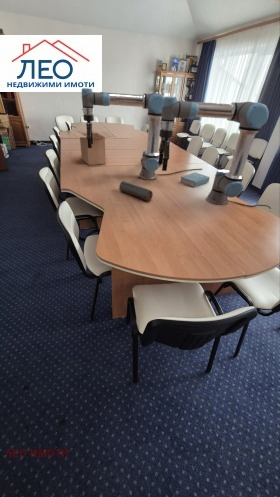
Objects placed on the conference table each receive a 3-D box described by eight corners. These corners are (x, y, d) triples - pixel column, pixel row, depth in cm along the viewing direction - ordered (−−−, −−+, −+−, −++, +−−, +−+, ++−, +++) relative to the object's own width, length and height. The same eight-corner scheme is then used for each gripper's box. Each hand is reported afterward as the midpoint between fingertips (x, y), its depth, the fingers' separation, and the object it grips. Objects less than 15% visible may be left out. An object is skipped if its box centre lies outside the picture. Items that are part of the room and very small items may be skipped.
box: (116, 165, 229) (116, 136, 213) (83, 168, 214) (80, 137, 198) (102, 154, 259) (101, 128, 243) (71, 156, 244) (68, 129, 228)
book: (194, 177, 213) (195, 172, 210) (208, 182, 204) (209, 177, 201) (179, 182, 200) (180, 176, 197) (194, 187, 191) (195, 182, 188)
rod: (119, 192, 174) (119, 182, 169) (126, 189, 179) (126, 180, 174) (145, 202, 161) (146, 192, 156) (152, 199, 166) (153, 189, 161)
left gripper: (84, 112, 170) (87, 142, 182) (81, 116, 150) (84, 149, 163) (94, 112, 171) (96, 142, 183) (92, 116, 151) (94, 149, 163)
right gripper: (156, 125, 136) (153, 161, 148) (164, 132, 116) (159, 173, 128) (168, 126, 136) (164, 161, 149) (178, 133, 117) (172, 173, 129)
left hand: (90, 145), depth 173 cm, fingers open, 13 cm apart
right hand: (162, 167), depth 139 cm, fingers open, 13 cm apart
